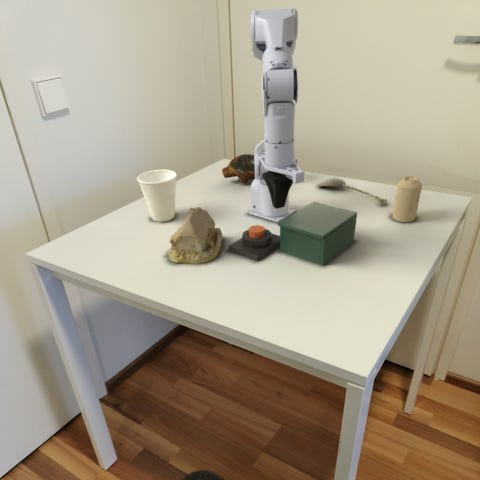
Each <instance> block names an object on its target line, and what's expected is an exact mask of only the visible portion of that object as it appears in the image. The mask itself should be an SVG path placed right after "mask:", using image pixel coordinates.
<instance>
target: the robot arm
mask: <svg viewBox="0 0 480 480" xmlns="http://www.w3.org/2000/svg"><path fill="white" fill-rule="evenodd" d="M298 31H299V15H298V10H297V9H296V7H292V8H282V9H263V10H262V9H261V10H256V9H253V10H252V12H251V13H250V36H251V38H250V39H251V50H252V51H251V52H252V53H253V57H254V58H255V59H258V60H260V61H261V65H262V74H261V102H262V107H263V116H264V118H263V119H264V123H263V124H264V125H263V127H264V128H263V129H264V138H263V139H262V140H261V141H259V143H257V144H256V145H255V148H254V154H253V155H254V161H255V179H254V180H253V179H252V182H251V185H250V190H249V191H250V192H249V193H250V211H249V212H248V215H251V216H254V217H255V216H256V217H258V218H262V219H266V220H269V221H272V222H275V223H278V222H280V221H282V220H283V219H285V218H287V217H289V216H290V215H292V214H294V213H295V212H296V209H294V208H289V207H290V205H289V204H290V203H289V202H290V201H289V199H290V190H291V187H292V185H293V184H295V185H296V184H300V183H304V182H305V171H304V170H302V169H301V168H300V166H299V165H298V163H299V160H298V159H296V153H295V129H296V128H295V125H296V104H297V103H298V100H299V94H300V93H299V90H300V80H299V79H300V78H299V77H300V76H299V71H298V68H297V67H296V66H294V60H293V56H294V52H295V50H296V44H297V39H298ZM259 173H260V176H259Z"/></svg>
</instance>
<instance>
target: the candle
mask: <svg viewBox="0 0 480 480" xmlns="http://www.w3.org/2000/svg"><path fill="white" fill-rule="evenodd" d="M422 188H423V184H422V182H421V181H420V180H419V179H418V178H417V177H415V176H414V175H410V176H409V175H408V176H405V177H403V178H402V179H401V180H399V181H398V182H397V186H396V192H395V198H394V204H393V210H392V219H393V220H395V221H396V222H401V223H410V222H413V221H415V220H416V218H417V212H418V208H419V203H420V198H421V193H422Z"/></svg>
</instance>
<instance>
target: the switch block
mask: <svg viewBox="0 0 480 480" xmlns="http://www.w3.org/2000/svg"><path fill="white" fill-rule="evenodd" d="M277 248H280V235H279V234H276V233H272V231H270V230H269V229H266V228H265V237H263V238H259V239H254V238H250V237H249V228H248V229H247V230H244V231H243V232H242V235H241V238H240V239H238V240H236V241H234V242H232V243H231V244H229V245H228V252H230V253H233V254H236V255H239V256H241V257H243V258H248V259H250V260H253V261H255V262H258V261H260V260H261V259H262V258H264V257H265V256H267V255H269V254H270V253H272V252H273V251H274V250H276V249H277Z"/></svg>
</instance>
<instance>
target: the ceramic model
mask: <svg viewBox="0 0 480 480" xmlns="http://www.w3.org/2000/svg"><path fill="white" fill-rule="evenodd" d="M222 232H223V231H222V230H221V228H220V227H216V222H215V220H214V219H213V217H212V216H211V215H210V213H209V212H208V211H207V210H205V209H203V208H202V207H201V206H196V207H191V208H189V210H188V215H187V217H186V218H185V220H183V223H182V224H181V225H180V226H179V227H178V228H177V230H176V231H175V232H174V233H173V234H172V235H171V236H170V238H169V243H170V244H171V245H170V246H171V247H170V249H168V252H167V256H168V258H169V260H170V261H171V262H172V263H176V264H177V263H178V264H179V263H184V264H185V263H187V264H200V265H201V264H204V263H207V262H209V261H212V260H213V259H215V258H216V257H217V256H218V253H219V252H220V249H221V247H222V244H223V233H222Z"/></svg>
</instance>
